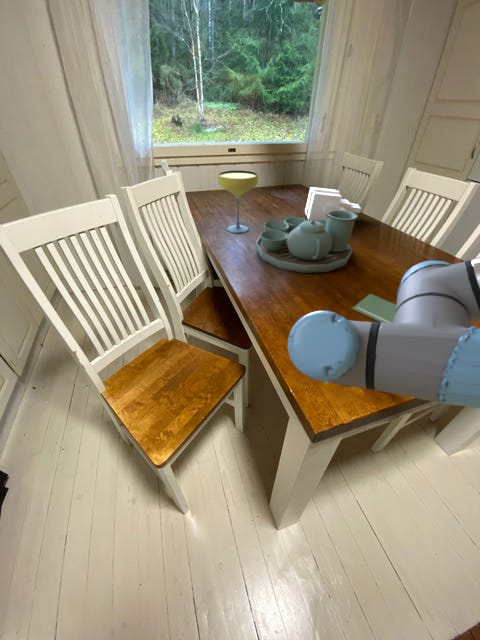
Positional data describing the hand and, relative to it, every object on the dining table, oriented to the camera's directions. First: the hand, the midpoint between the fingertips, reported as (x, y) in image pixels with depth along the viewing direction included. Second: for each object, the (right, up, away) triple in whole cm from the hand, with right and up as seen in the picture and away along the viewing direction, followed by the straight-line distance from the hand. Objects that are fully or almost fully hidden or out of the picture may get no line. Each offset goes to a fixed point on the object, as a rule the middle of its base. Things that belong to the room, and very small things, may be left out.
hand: (364, 373), depth 60 cm
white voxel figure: (+23, +69, +92) cm, 118 cm away
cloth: (+18, +14, +23) cm, 33 cm away
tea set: (-1, +41, +57) cm, 71 cm away
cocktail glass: (-29, +58, +78) cm, 101 cm away
